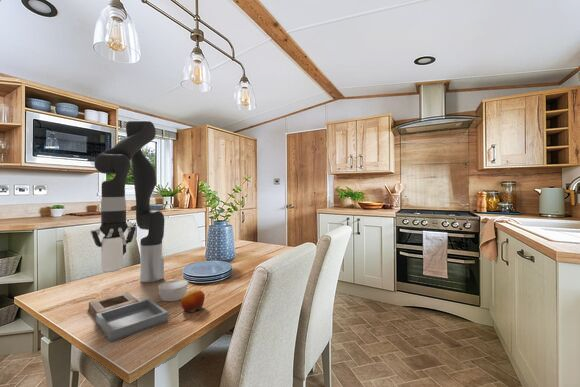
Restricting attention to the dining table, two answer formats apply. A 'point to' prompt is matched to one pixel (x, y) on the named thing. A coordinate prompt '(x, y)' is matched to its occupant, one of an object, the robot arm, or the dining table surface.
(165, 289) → the ramekin
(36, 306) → the dining table surface
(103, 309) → the square wooden frame
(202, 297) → the fruit
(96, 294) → the dining table surface
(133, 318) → the tray
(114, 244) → the can
